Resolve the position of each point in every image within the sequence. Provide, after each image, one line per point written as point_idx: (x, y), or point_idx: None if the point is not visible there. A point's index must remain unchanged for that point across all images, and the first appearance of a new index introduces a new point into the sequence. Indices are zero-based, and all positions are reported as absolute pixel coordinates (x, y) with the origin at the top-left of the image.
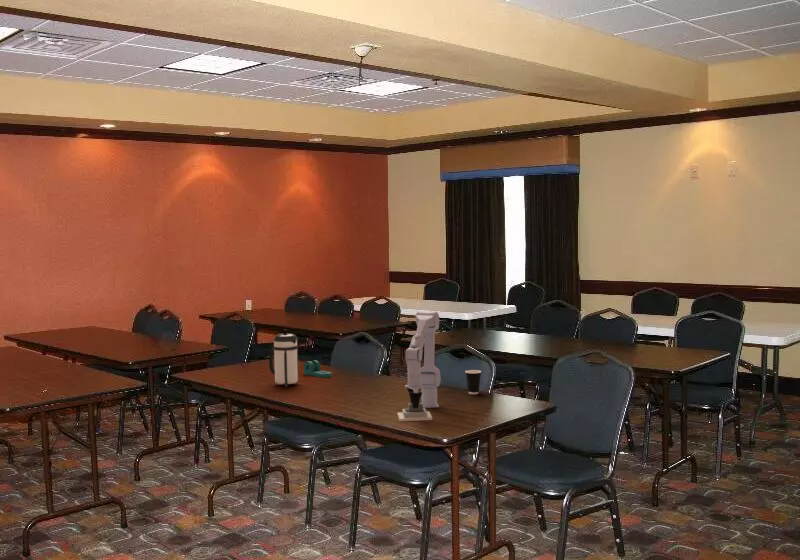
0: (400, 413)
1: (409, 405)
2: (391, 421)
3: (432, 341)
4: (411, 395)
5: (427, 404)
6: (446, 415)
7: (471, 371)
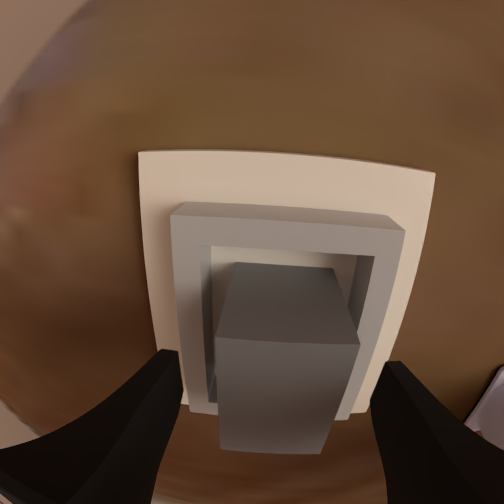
0: (389, 193)
1: (218, 335)
2: (155, 69)
3: None
4: (19, 457)
5: (496, 402)
6: (281, 455)
7: None
